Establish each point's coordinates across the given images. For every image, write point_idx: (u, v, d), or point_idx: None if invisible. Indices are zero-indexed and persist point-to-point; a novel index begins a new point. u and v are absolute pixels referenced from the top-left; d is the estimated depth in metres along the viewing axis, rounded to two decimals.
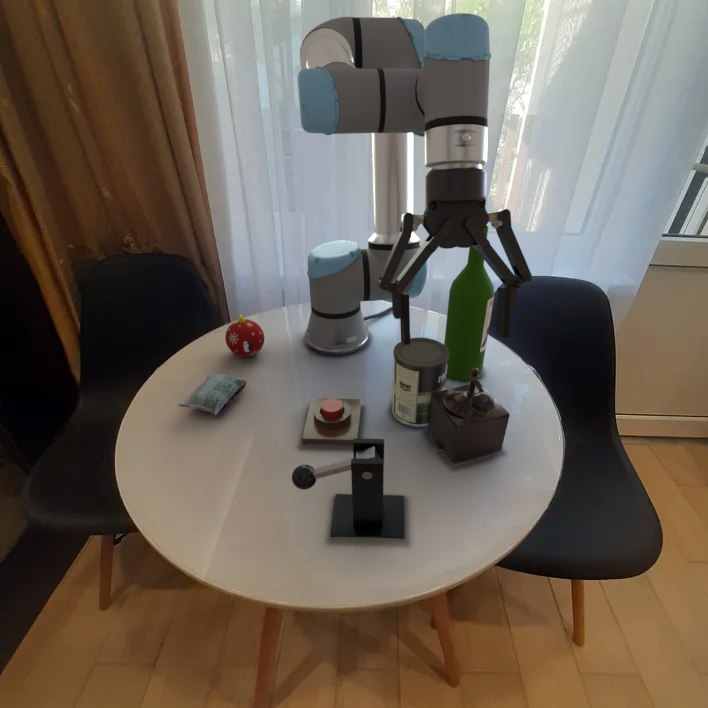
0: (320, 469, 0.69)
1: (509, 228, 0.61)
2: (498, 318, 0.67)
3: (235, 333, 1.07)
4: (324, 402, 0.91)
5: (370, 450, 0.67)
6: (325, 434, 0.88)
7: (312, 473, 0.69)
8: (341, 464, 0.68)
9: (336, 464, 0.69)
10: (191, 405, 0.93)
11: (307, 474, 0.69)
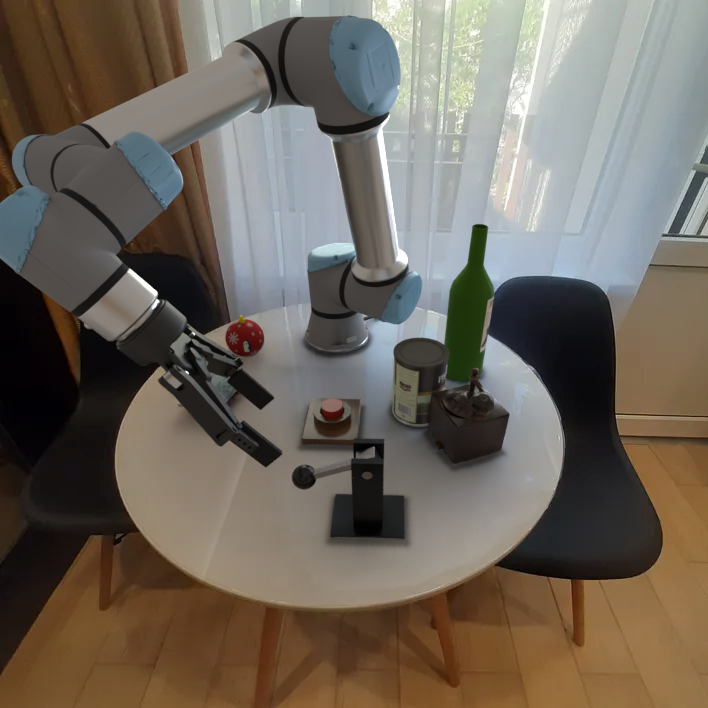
0: (320, 469, 0.69)
1: None
2: None
3: (235, 333, 1.07)
4: (324, 402, 0.91)
5: (370, 450, 0.67)
6: (325, 434, 0.88)
7: (312, 473, 0.69)
8: (341, 464, 0.68)
9: (336, 464, 0.69)
10: None
11: (307, 474, 0.69)
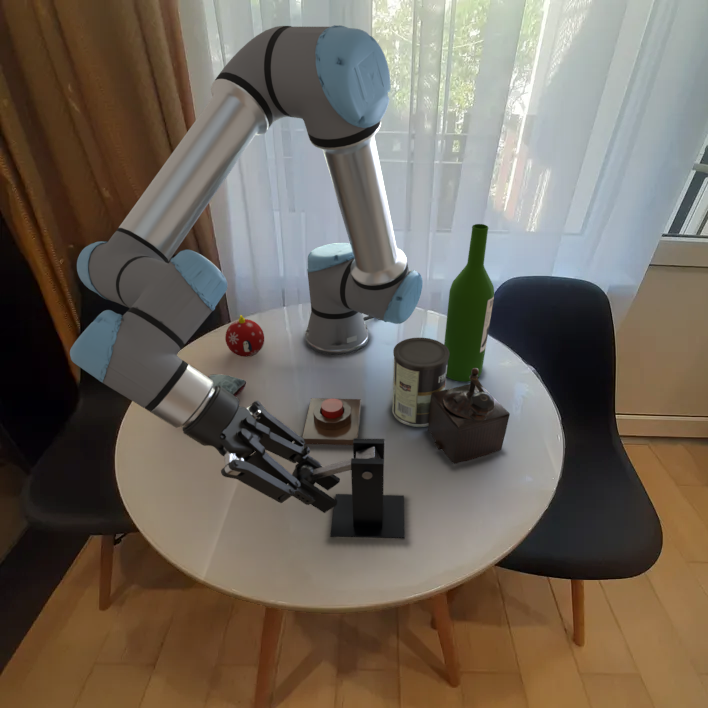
0: (320, 469, 0.69)
1: None
2: None
3: (235, 333, 1.07)
4: (324, 402, 0.91)
5: (370, 450, 0.67)
6: (325, 434, 0.88)
7: (312, 473, 0.69)
8: (341, 464, 0.68)
9: (336, 464, 0.69)
10: None
11: (307, 474, 0.69)
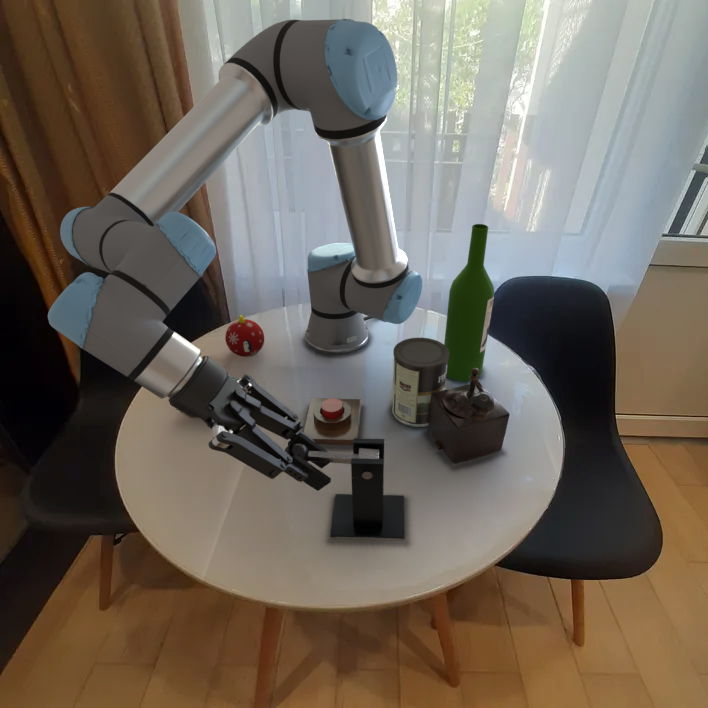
0: (316, 453, 0.67)
1: None
2: None
3: (235, 333, 1.07)
4: (324, 402, 0.91)
5: (374, 452, 0.68)
6: (325, 434, 0.88)
7: (308, 454, 0.67)
8: (341, 456, 0.67)
9: (335, 453, 0.68)
10: None
11: (304, 454, 0.66)
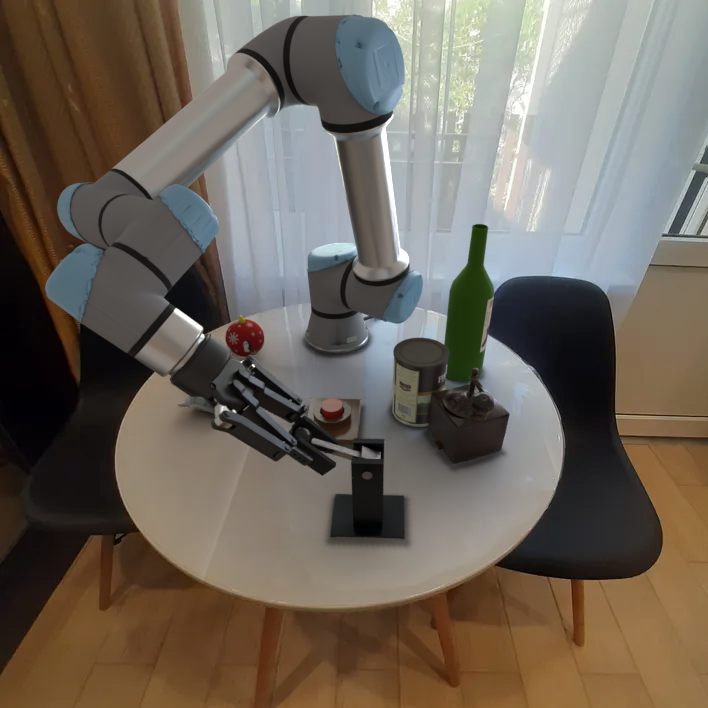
0: (320, 442, 0.66)
1: None
2: None
3: (235, 333, 1.07)
4: (324, 402, 0.91)
5: (376, 453, 0.68)
6: None
7: (312, 441, 0.66)
8: (343, 450, 0.67)
9: (338, 446, 0.67)
10: (191, 405, 0.93)
11: (309, 440, 0.65)
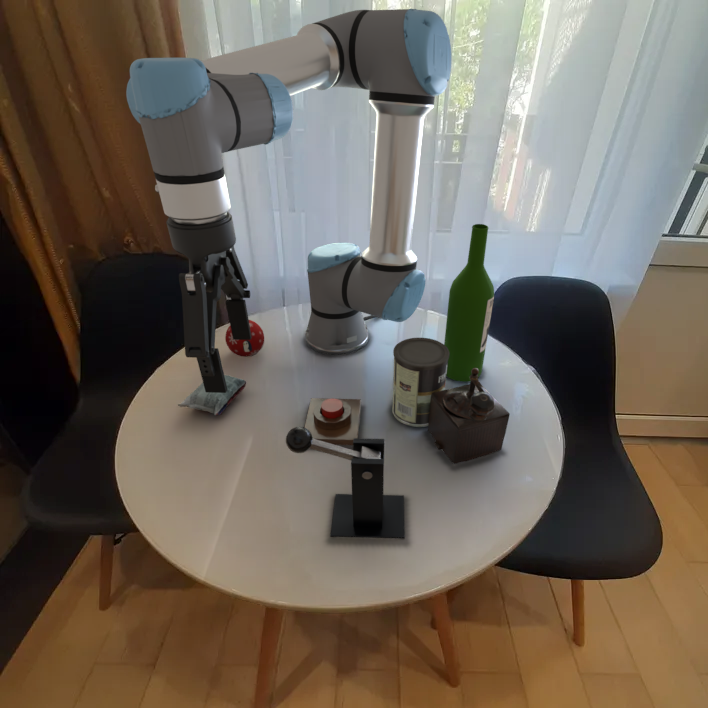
0: (320, 442, 0.66)
1: None
2: None
3: None
4: (324, 402, 0.91)
5: (376, 453, 0.68)
6: (325, 434, 0.88)
7: (312, 441, 0.66)
8: (343, 450, 0.67)
9: (337, 446, 0.67)
10: (191, 405, 0.93)
11: (308, 441, 0.65)
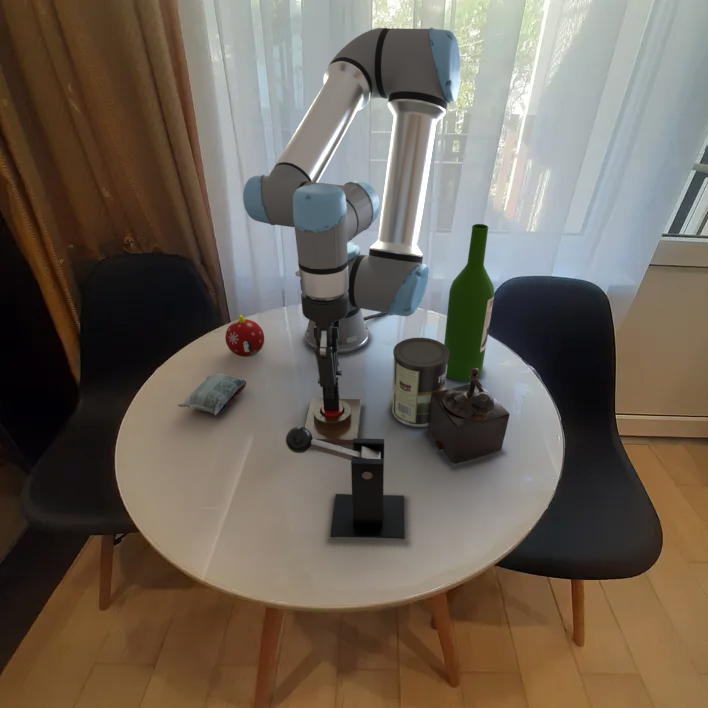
0: (320, 442, 0.66)
1: None
2: None
3: (235, 333, 1.07)
4: None
5: (376, 453, 0.68)
6: (325, 434, 0.88)
7: (312, 441, 0.66)
8: (343, 450, 0.67)
9: (337, 446, 0.67)
10: (191, 405, 0.93)
11: (308, 441, 0.65)
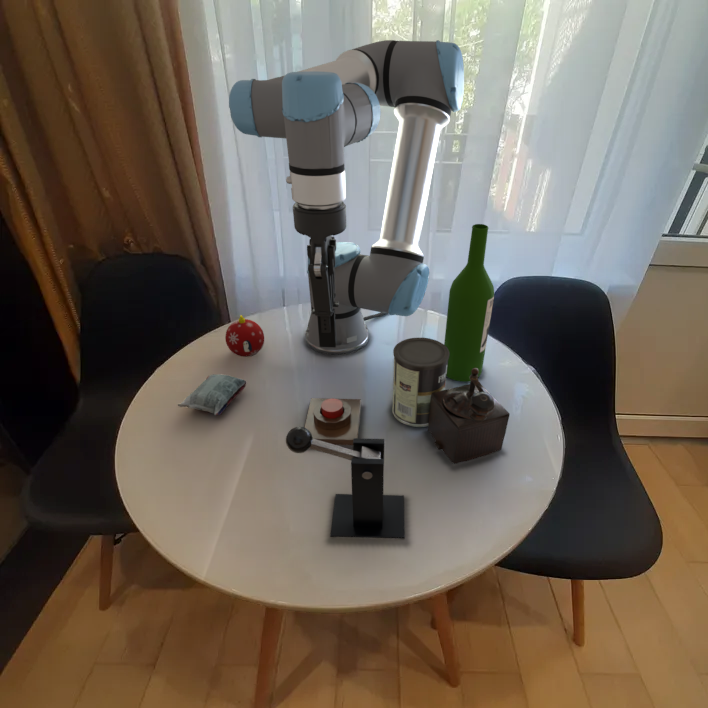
0: (320, 442, 0.66)
1: None
2: None
3: (235, 333, 1.07)
4: (324, 402, 0.91)
5: (376, 453, 0.68)
6: (325, 434, 0.88)
7: (312, 441, 0.66)
8: (343, 450, 0.67)
9: (337, 446, 0.67)
10: (191, 405, 0.93)
11: (308, 441, 0.65)
